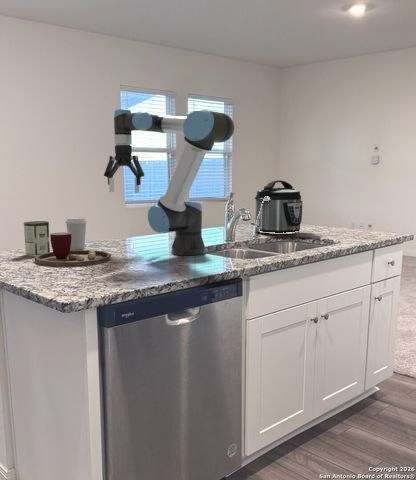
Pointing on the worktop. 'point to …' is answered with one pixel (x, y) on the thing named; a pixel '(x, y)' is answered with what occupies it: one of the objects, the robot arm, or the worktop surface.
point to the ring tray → (72, 259)
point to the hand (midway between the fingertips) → (124, 192)
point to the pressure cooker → (279, 208)
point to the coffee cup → (77, 231)
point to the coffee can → (36, 237)
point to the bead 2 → (91, 256)
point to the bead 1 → (80, 258)
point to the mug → (61, 244)
